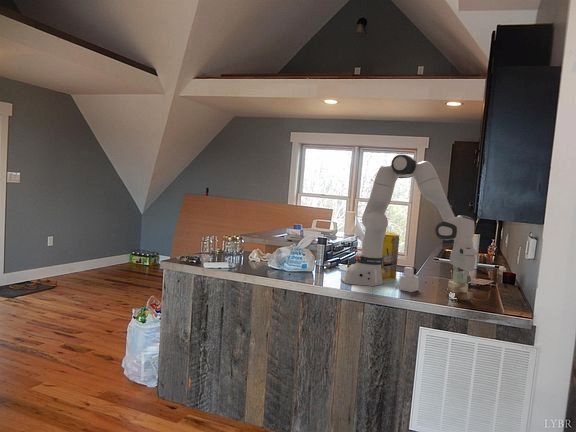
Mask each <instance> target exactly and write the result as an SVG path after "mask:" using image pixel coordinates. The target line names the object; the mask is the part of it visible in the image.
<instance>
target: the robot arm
mask: <svg viewBox="0 0 576 432" xmlns="http://www.w3.org/2000/svg"><path fill="white" fill-rule="evenodd" d="M390 164H391V165H389V164H384V165H381V166H380V167H379V168H378V171H377V173H376V175H375V178H374V180H373V186H372V189H371V192H370V195H369V199H368V201H367V204H366V206H365V209H364V212H363V214H362V216H361V223H362V224H363V227H364V228H365V229H364V234H363V239H362V242H361V253H360V255H357V254H356V255H355V257H354V258H355V259H356V263H353V264H352V265H351V266H349V267H347V269H346V271H345V276H341V277H340V281H341V282H343V284H344V283H345V284H346V285H347V284H348V285H358V286H367V287H368V286H371V287H377V286H380V285H383V283H384V281H383V278H382V271H381V268H382V264H383V257H382V251H383V242H384V237H385V233H386V232H387V228H388V226H389V225H388V224H389V219H388V217H387V216H386V211H387V209H388V206H389V205H390V204H391V200H392V197H393V193H394V190H395V187H396V183H397V180H398V179H408V178H409V179H410V178H412V177H413V178H414V180H415V183H416V184H417V185H416V186H417V187H418V190H419V192H420V194H421V195H422V197H423V198H424V199H426V200H427V201H429V202H431V204H433V205H434V206H435V207H436V209H437V210H438V212H439V214H440V216H441V219H442V221H439V222H438V223H437V224H436V226H435V228H434V233H435V236H437V238H438V239H440V240H443V241H450V240H452V241H453V248H452V250H451V251H450V255H449V264H450V265H452V267H453V268H452V269H453V271H459V269H461V270H463V271H462V272H464V273H463V275H462V278H463V279H467V280H468V275H469V273H470V272H474V271H475V268H476V267H475V266H476V256H477V254H478V251H477V249H475V246H474V240H473V238H474V236H475V220H474V219H473V217H470V216H467V215H463V214H460V215H457V216H456V215H455V212H454V211H453V208H452V206H451V204H450V201H449V200H448V198H447V196H446V193H445V191H444V188H443V185H442V183H441V180H440V178H439V175H438V173H437V171H436V169H435V167H434V165H433V164H432V163H431V162H430V161H426V160H423V161H420V162H417V161H416V160H415V159H414V158H413V156H412V157H411V156H410V155H408V154H405V153H403V154H402V153H401V154H397V155H395V156H393V158H392V161H391V163H390Z"/></svg>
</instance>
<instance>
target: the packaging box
mask: <svg viewBox="0 0 576 432" xmlns="http://www.w3.org/2000/svg"><path fill="white" fill-rule="evenodd" d="M399 246H400V235H399V234H397V233H396V232H391V231H386V233H385V237H384V242H383V251H382V257H383V264H382V268H381V271H382V279H387V280H388V279H389V280H391V279H392V280H396V279H397V273H398V272H397V271H398V270H397V269H398V257H399Z"/></svg>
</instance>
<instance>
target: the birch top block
mask: <svg viewBox="0 0 576 432" xmlns="http://www.w3.org/2000/svg"><path fill="white" fill-rule="evenodd" d="M447 289H450V290H451V291H453V292H467V293H468V289H469V283H467V284H459V283H455V282H453V281H452V280H448V283H447Z"/></svg>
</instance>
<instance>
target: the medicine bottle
mask: <svg viewBox="0 0 576 432" xmlns="http://www.w3.org/2000/svg"><path fill="white" fill-rule="evenodd" d="M403 269H404V270H403V275H401V276H400V278H399V289H398V290H400V291H404V292H409V293H414V292H418V290H419V284H420V283H419V280H420V277H419V276H417V268H416V267H414V266H405V267H404V268H403Z"/></svg>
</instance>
